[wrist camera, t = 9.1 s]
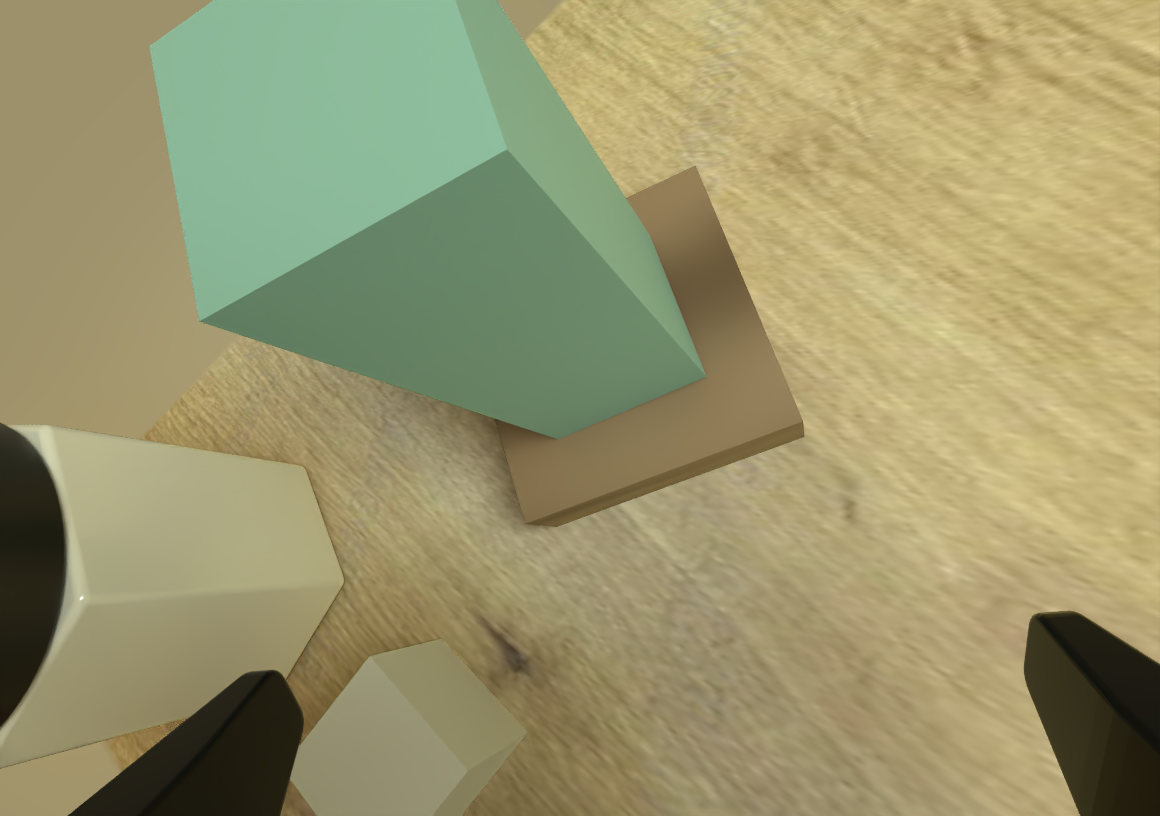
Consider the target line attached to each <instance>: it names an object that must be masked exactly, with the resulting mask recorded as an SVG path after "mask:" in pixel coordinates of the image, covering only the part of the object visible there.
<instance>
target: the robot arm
mask: <svg viewBox="0 0 1160 816" xmlns="http://www.w3.org/2000/svg"><path fill="white" fill-rule="evenodd" d="M1024 675H1025V680H1026V684H1027V687H1028V690H1029V693H1030V695H1031V697H1032V700H1033V702H1034V705H1035V707H1036V710H1037V712H1038V714H1039V717H1040V719H1041V722H1042V724H1043V727H1044V729H1045V731H1046V734H1047V736H1048V739H1049V741H1050V744H1051V746H1052V749H1053V751H1054V753H1055V756H1056V758H1057V761H1058V763H1059V766H1060V768H1061V770H1062V773H1063V775H1064V778H1065V780H1066V783H1067V785H1068V787H1069V790H1070V792H1071V795H1072V797H1073V800H1074V802H1075V804H1076V807H1077V809H1078V811H1079V814H1080V816H1160V664H1159V663H1158V662H1156V661H1154V660H1153V659H1151V658H1150V657H1148V656H1147V655H1145V654H1143V653H1142V652H1140V651H1139V650H1137V649H1135V648H1134V647H1132V646H1131V645H1129V644H1128V643H1126V642H1124V641H1123V640H1121V639H1120V638H1118V637H1117V636H1115V635H1113V634H1112V633H1110V632H1109V631H1107V630H1106V629H1104V628H1102V627H1101V626H1099V625H1098V624H1096V623H1094V622H1093V621H1091V620H1090V619H1088V618H1087V617H1085V616H1083V615H1081V614H1079V613H1077V612H1074V611H1058V612H1044V613H1037V614H1035V615H1033V616H1032V618H1031V619H1030V623H1029V628H1028V636H1027V644H1026V652H1025V660H1024ZM303 725H304V719H303V713H302V710H301V708H300V706H299V704H298V702H297V700H296V698H295V697H294V695H293V693H292V691H291V689H290V687H289V685H288V684H287V682H286V680H285V678H284V676H283V675H282V674H281V673H280V672H279V671H277V670H260V671H250V672H247V673H245V674H243V675H241V676H240V677H239V678H238V679H236V680H235V681H234V682H233V683H231V684H230V685H229V686H228V687H226V688H225V689H224V690H223V691H221V692H220V693H219V694H218V695H217V696H215V697H214V698H213V699H212V700H210V701H209V702H208V703H207V704H205V705H204V706H203V707H202V708H200V709H199V710H198V711H197V712H195V713H194V714H193V715H192V716H191V717H189V718H188V719H187V720H186V721H184V722H183V723H182V724H181V725H179V726H178V727H177V728H176V729H174V730H173V731H172V732H171V733H170V734H168V735H167V736H166V737H165V738H163V739H162V740H161V741H160V742H158V743H157V744H156V745H155V746H153V747H152V748H151V749H150V750H148V751H147V752H146V753H145V754H144V755H142V756H141V757H140V758H139V759H137V760H136V761H135V762H134V763H132V764H131V765H130V766H129V767H127V768H126V769H125V770H124V771H122V772H121V773H120V774H119V775H118V776H116V777H115V778H114V779H113V780H111V781H110V782H109V783H108V784H106V785H105V786H104V787H103V788H101V789H100V790H99V791H98V792H97V793H95V794H94V795H93V796H92V797H90V798H89V799H88V800H87V801H85V802H84V803H83V804H82V805H80V806H79V807H78V808H77V809H75V811H73V812H72V813H71V814H69V815H68V816H280V814H281V810H282V806H283V803H284V799H285V795H286V791H287V788H288V784H289V780H290V777H291V773H292V769H293V766H294V762H295V758H296V755H297V751H298V747H299V744H300V740H301V736H302V732H303Z"/></svg>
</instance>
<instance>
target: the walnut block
mask: <svg viewBox="0 0 1160 816" xmlns="http://www.w3.org/2000/svg"><path fill="white" fill-rule="evenodd" d="M626 199H627V201H628V202H629V204H630V205H631V207H632V208H633V210H634V211H635V213H636V215H637V216H638V218H639V219H640V221H641V222H642V224H643V225H644V227H645V228H646V230H647V231H648V233H649V235H650V237H651V239H652V242H653V244H654V247H655V249H656V252H657V254H658V257H659V259H660V262H661V264H662V267H663V269H664V272H665V274H666V277H667V279H668V282H669V284H670V287H671V289H672V292H673V294H674V297H675V299H676V302H677V304H678V307H679V309H680V312H681V314H682V317H683V319H684V322H685V324H686V327H687V329H688V332H689V334H690V337H691V339H692V342H693V344H694V347H695V349H696V352H697V354H698V357H699V359H700V362H701V364H702V367H703V369H704V372H705V374H706V377H705V378H703V379H700V380H698V381H695V382H693V383H691V384H688V385H686V386H684V387H681V388H679V389H676V390H674V391H672V392H669V393H667V394H665V395H662V396H660V397H658V398H655V399H653V400H650V401H648V402H646V403H643V404H641V405H639V406H636V407H634V408H632V409H629V410H627V411H624V412H622V413H620V414H617V415H615V416H613V417H610V418H608V419H605V420H603V421H601V422H598V423H596V424H594V425H591V426H589V427H587V428H584V429H582V430H579V431H577V432H575V433H572V434H570V435H568V436H565V437H563V438H561V439H555V438H552V437H549V436H546V435H543V434H540V433H537V432H534V431H531V430H528V429H525V428H522V427H519V426H516V425H513V424H510V423H507V422H504V421H501V420H498V419H495V420H496V424H497V427H498V431H499V434H500V438H501V441H502V445H503V448H504V452H505V455H506V459H507V462H508V466H509V469H510V473H511V477H512V480H513V484H514V487H515V491H516V494H517V498H518V501H519V505H520V508H521V512H522V515H523V519H524V522H525V524H533V525H544V526H554V527H557V526H560V525H563V524H566V523H568V522H571V521H574V520H577V519H579V518H582V517H585V516H588V515H590V514H593V513H596V512H599V511H601V510H604V509H607V508H610V507H612V506H615V505H618V504H621V503H623V502H626V501H629V500H632V499H634V498H637V497H640V496H643V495H645V494H648V493H651V492H654V491H656V490H659V489H662V488H665V487H667V486H670V485H673V484H676V483H678V482H681V481H684V480H687V479H689V478H692V477H695V476H698V475H700V474H703V473H706V472H709V471H711V470H714V469H717V468H720V467H722V466H725V465H728V464H731V463H733V462H736V461H739V460H742V459H744V458H747V457H750V456H753V455H755V454H758V453H761V452H764V451H766V450H769V449H772V448H775V447H777V446H780V445H783V444H785V443H788V442H791V441H794V440H796V439H799V438H802V437H804V427H803V420H802V418H801V415H800V413H799V411H798V408H797V406H796V403H795V401H794V399H793V396H792V394H791V392H790V389H789V387H788V384H787V382H786V380H785V377H784V375H783V373H782V370H781V368H780V365H779V363H778V361H777V358H776V356H775V354H774V351H773V349H772V346H771V344H770V342H769V339H768V337H767V335H766V332H765V330H764V327H763V325H762V323H761V320H760V318H759V315H758V313H757V311H756V308H755V306H754V304H753V301H752V299H751V296H750V294H749V292H748V289H747V287H746V285H745V282H744V280H743V277H742V275H741V273H740V270H739V268H738V266H737V263H736V261H735V258H734V256H733V254H732V251H731V249H730V247H729V244H728V242H727V239H726V237H725V235H724V232H723V230H722V228H721V225H720V223H719V220H718V218H717V216H716V213H715V211H714V209H713V206H712V204H711V201H710V199H709V197H708V194H707V192H706V190H705V187H704V185H703V182H702V180H701V178H700V175H699V173H698V170H697V168H696V166H694V167H691V168H689V169H687V170H685V171H683V172H681V173H679V174H677V175H674V176H672V177H670V178H668V179H666V180H664V181H662V182H660V183H657V184H655V185H653V186H651V187H649V188H647V189H645V190H643V191H640V192H638V193H636V194H634V195H632V196H630V197H628V198H626Z"/></svg>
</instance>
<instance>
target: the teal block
mask: <svg viewBox="0 0 1160 816" xmlns="http://www.w3.org/2000/svg"><path fill="white" fill-rule="evenodd" d="M150 53H151V58H152V64H153V69H154V74H155V80H156V86H157V91H158V97H159V102H160V108H161V113H162V119H163V124H164V129H165V135H166V140H167V146H168V151H169V157H170V162H171V168H172V174H173V179H174V185H175V190H176V196H177V201H178V207H179V212H180V218H181V224H182V229H183V234H184V240H185V245H186V251H187V256H188V262H189V268H190V273H191V279H192V284H193V290H194V294H195V301H196V306H197V312H198V317H199V321H200V322H203V323H206V324H209V325H212V326H215V327H218V328H221V329H224V330H227V331H230V332H233V333H236V334H239V335H242V336H245V337H248V338H251V339H254V340H257V341H260V342H264V343H267V344H270V345H273V346H276V347H279V348H282V349H285V350H288V351H291V352H294V353H297V354H300V355H303V356H306V357H309V358H312V359H315V360H318V361H321V362H324V363H327V364H330V365H333V366H337V367H340V368H343V369H346V370H349V371H352V372H355V373H358V374H361V375H364V376H367V377H370V378H373V379H376V380H379V381H382V382H385V383H388V384H391V385H394V386H397V387H400V388H403V389H406V390H410V391H413V392H416V393H419V394H422V395H425V396H428V397H431V398H434V399H437V400H440V401H443V402H446V403H449V404H452V405H455V406H458V407H461V408H464V409H467V410H470V411H473V412H476V413H479V414H482V415H486V416H489V417H492V418H495V419H498V420H501V421H504V422H507V423H510V424H513V425H516V426H519V427H522V428H525V429H528V430H531V431H534V432H537V433H540V434H543V435H546V436H549V437H552V438H555V439H561V438H563V437H565V436H568V435H570V434H572V433H575V432H577V431H579V430H582V429H584V428H587V427H589V426H591V425H594V424H596V423H598V422H601V421H603V420H605V419H608V418H610V417H613V416H615V415H617V414H620V413H622V412H624V411H627V410H629V409H632V408H634V407H636V406H639V405H641V404H643V403H646V402H648V401H650V400H653V399H655V398H658V397H660V396H662V395H665V394H667V393H669V392H672V391H674V390H676V389H679V388H681V387H684V386H686V385H688V384H691V383H693V382H695V381H698V380H700V379H703V378H705V377H706V374H705V372H704V369H703V367H702V364H701V362H700V359H699V357H698V354H697V352H696V349H695V347H694V344H693V342H692V339H691V337H690V334H689V332H688V329H687V327H686V324H685V322H684V319H683V317H682V314H681V312H680V309H679V307H678V304H677V302H676V299H675V297H674V294H673V292H672V289H671V287H670V284H669V282H668V279H667V277H666V274H665V272H664V269H663V267H662V264H661V262H660V259H659V257H658V254H657V252H656V249H655V247H654V244H653V242H652V239H651V237H650V235H649V233H648V231H647V230H646V228H645V227H644V225H643V224H642V222H641V221H640V219H639V218H638V216H637V215H636V213H635V211H634V210H633V208H632V207H631V205H630V204H629V202H628V201H627V199H626V198H625V196H624V195H623V193H622V191H621V190H620V188H619V187H618V185H617V184H616V182H615V181H614V179H613V178H612V176H611V175H610V173H609V171H608V170H607V168H606V167H605V165H604V164H603V162H602V161H601V159H600V158H599V156H598V155H597V153H596V151H595V150H594V148H593V147H592V145H591V144H590V142H589V141H588V139H587V138H586V136H585V135H584V133H583V131H582V130H581V128H580V127H579V125H578V124H577V122H576V121H575V119H574V118H573V116H572V115H571V113H570V111H569V110H568V108H567V107H566V105H565V104H564V102H563V101H562V99H561V98H560V96H559V95H558V93H557V91H556V90H555V88H554V87H553V85H552V84H551V82H550V81H549V79H548V78H547V76H546V75H545V73H544V72H543V70H542V68H541V67H540V65H539V64H538V62H537V61H536V59H535V58H534V56H533V55H532V53H531V52H530V50H529V48H528V47H527V45H526V44H525V42H524V41H523V39H522V38H521V36H520V35H519V33H518V32H517V30H516V29H515V27H514V25H513V24H512V22H511V21H510V19H509V18H508V16H507V15H506V13H505V12H504V10H503V8H502V7H501V5H500V4H499V2H498V1H497V0H214V1H212V2H211V3H209V4H208V5H207V6H205V7H204V8H202V9H201V10H200V11H198V12H197V13H195V14H194V15H193V16H191V17H190V18H189V19H187V20H186V21H184V22H183V23H181V24H180V25H179V26H177V27H176V28H175V29H173V30H172V31H170V32H169V33H167V34H166V35H165V36H163V37H162V38H161V39H159V40H158V41H156V42H155V43H154V44H152V45H151V46H150Z"/></svg>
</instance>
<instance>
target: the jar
mask: <svg viewBox="0 0 1160 816" xmlns="http://www.w3.org/2000/svg"><path fill="white" fill-rule="evenodd" d="M343 583H344V576H343V573H342V571H341V568H340V565H339V562H338V559H337V557H336V554H335V551H334V548H333V545H332V543H331V540H330V537H329V534H328V531H327V528H326V525H325V523H324V520H323V517H322V514H321V511H320V508H319V506H318V503H317V500H316V497H315V494H314V491H313V488H312V485H311V483H310V480H309V477H308V474H307V471H306V469H305V468H304V467H303V466H301V465H296V464H290V463H283V462H277V461H271V460H265V459H258V458H252V457H246V456H240V455H234V454H227V453H221V452H215V451H209V450H202V449H196V448H190V447H184V446H177V445H171V444H165V443H159V442H152V441H146V440H140V439H134V438H128V437H120V436H115V435H109V434H103V433H96V432H90V431H84V430H78V429H72V428H66V427H59V426H53V425H4V424H2V423H0V769H1V768H4V767H8V766H12V765H16V764H19V763H23V762H27V761H30V760H34V759H38V758H42V757H45V756H49V755H52V754H56V753H59V752H64V751H67V750H71V749H75V748H78V747H82V746H86V745H90V744H93V743H97V742H101V741H104V740H108V739H112V738H115V737H119V736H123V735H126V734H130V733H134V732H138V731H141V730H145V729H149V728H152V727H156V726H160V725H163V724H167V723H171V722H174V721H178V720H182V719H186V718H189V717H191V716H192V715H193V714H194V713H195V712H197V711H198V710H199V709H200V708H202V707H203V706H204V705H205V704H207V703H208V702H209V701H210V700H212V699H213V698H214V697H215V696H217V695H218V694H219V693H220V692H221V691H223V690H224V689H225V688H226V687H228V686H229V685H230V684H231V683H233V682H234V681H235V680H236V679H238V678H239V677H240V676H241V675H243V674H245V673H247V672H250V671H260V670H277V671H279V672H280V673H281V674H282V675H283V676H284V678H285V680H286V678H287V677H288V675H289V673H290V672H291V670H292V668H293V667H294V665H295V663H296V662H297V660H298V658H299V657H300V655H301V653H302V652H303V650H304V649H305V647H306V645H307V644H308V642H309V640H310V639H311V637H312V635H313V634H314V632H315V630H316V629H317V627H318V625H319V624H320V622H321V620H322V619H323V617H324V616H325V614H326V612H327V611H328V609H329V607H330V606H331V604H332V602H333V601H334V599H335V597H336V596H337V594H338V593H339V591H340V589H341V588H342V586H343Z"/></svg>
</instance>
